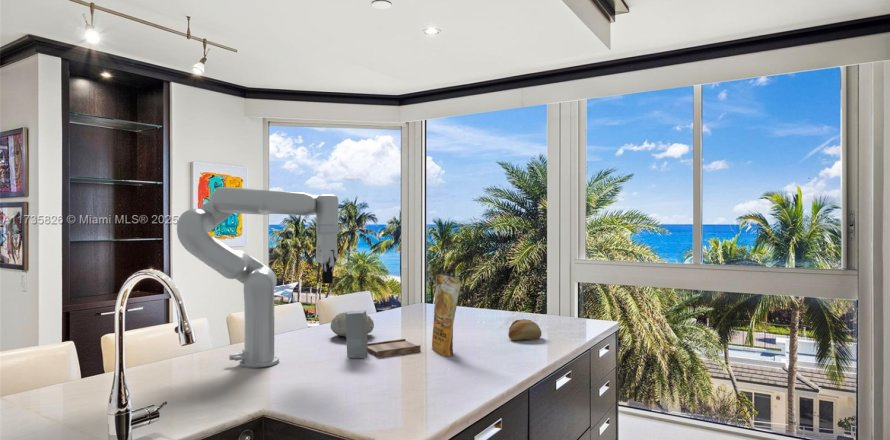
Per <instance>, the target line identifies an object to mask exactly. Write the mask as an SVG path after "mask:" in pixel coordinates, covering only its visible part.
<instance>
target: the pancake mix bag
mask: <svg viewBox="0 0 890 440" xmlns="http://www.w3.org/2000/svg"><path fill="white" fill-rule="evenodd" d="M434 276H435V293H434V307H433V308H434V309H433V314H434V315H433V324H432V325H433V327H432V338H431V339H432V340H431V349H432V350H433V351H434V352H435V353H438V354H439V355H440V356H443V357H449V358H450V357H453V356H454V349H453V347H454V342H453V339H454V323H455V316H456V312H457V311H456V310H457V305H458V300H459V296H460V293H461V289H462V280H461V279H460V278H458V277H453V276H450V275H447V274H440V273H437V274H435V275H434Z"/></svg>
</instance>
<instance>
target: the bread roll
mask: <svg viewBox="0 0 890 440" xmlns="http://www.w3.org/2000/svg"><path fill="white" fill-rule="evenodd" d="M507 334H508V335H507V336H508V338H509V339H510V340H512V341H520V340H521V341H523V340H538V339H540V338H541V337H542V330H541V327H540V326H539V324H538V323H536V322H535V321H533V320H531V319H525V318H524V319H523V318H522V319H517V320H515V321H513V322H512V324H511V325H510V327H509V328H508V333H507Z"/></svg>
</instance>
